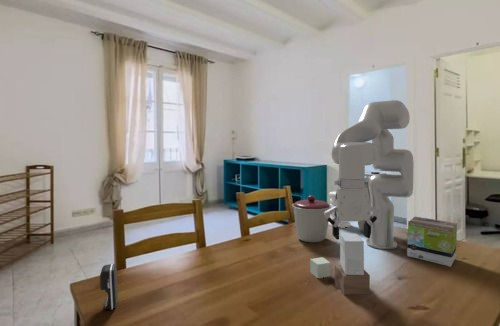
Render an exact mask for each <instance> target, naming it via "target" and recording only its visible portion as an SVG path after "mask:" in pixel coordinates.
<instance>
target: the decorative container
mask: <svg viewBox="0 0 500 326" xmlns="http://www.w3.org/2000/svg"><path fill="white" fill-rule="evenodd" d="M336 191H337V190H336ZM336 191H330V192H329V193H328V194H329V196H330V199H329V201H330V203H329V204H330V205H331V208H332V207H334V205H335V196H336ZM331 208H330V209H331ZM330 217H331V219H332V220H333V219H334V218H335V215H334V213H332V214H330ZM329 225H330V226H329ZM350 225H351V222H342V221H341V222H340V223H339V225H338V227H341V228H340V229H346V228H345V227H348V228H351V226H352V225H351V226H350ZM328 226H329V227H331V226H332V224H331V223H330V222H329V221H328Z"/></svg>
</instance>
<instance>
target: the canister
mask: <svg viewBox="0 0 500 326" xmlns="http://www.w3.org/2000/svg"><path fill="white" fill-rule="evenodd" d="M330 204H331V203H328V202H327V201H324V200H319V199H316V197H315V196H314V195H308V196H307V199H302V200H301V199H300V200H298V201H295V202H294V203H292V205H291V206H292V208H293V216H294V222H295V231H296V235H297V238H298V239H299V240H301V241H303V242H306V243H313V244H314V243H321V242H323V241H325V240H326V239H327V238H326V237H327V234H328V228H329V227H328V226H329V221H328V220H327V219H326V217H325V215H324V212H325V211H327V210H329V209H331V205H330Z"/></svg>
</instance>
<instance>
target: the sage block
mask: <svg viewBox="0 0 500 326" xmlns="http://www.w3.org/2000/svg"><path fill="white" fill-rule="evenodd" d="M309 261H310V262H309V265H310V266H309V267H310V272H309V273H310V274H311V275H313V276H314V277H315V278H316V279H317V278H319V279H323V277H324V278H329V277H331V262H330V261H329V260H327V259H326V258H325V257H316V258H315V257H314V258H310V259H309Z"/></svg>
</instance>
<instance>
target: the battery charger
mask: <svg viewBox="0 0 500 326" xmlns="http://www.w3.org/2000/svg"><path fill="white" fill-rule="evenodd" d="M117 281H118V280H117V264H116V263H109V264H104V265H103V266H102V267H101V270H100V275H99V289H100V291H105V293H106V294H107V295H108V296H107V298H106V299H105V300H104V305H103V309H104V310H105V309H110V310H114V309H113V308H115V309H116V308H117V303H118V302H117V301H118V285H117V284H118V283H117Z"/></svg>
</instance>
